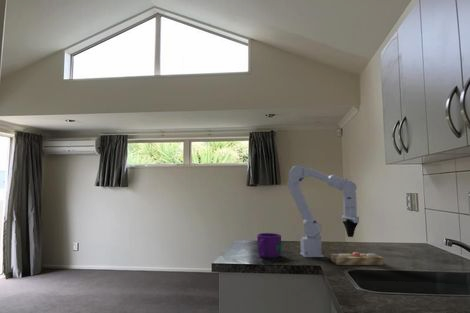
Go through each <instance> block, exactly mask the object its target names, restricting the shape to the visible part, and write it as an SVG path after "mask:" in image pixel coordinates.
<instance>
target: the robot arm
mask: <svg viewBox="0 0 470 313" xmlns="http://www.w3.org/2000/svg"><path fill="white" fill-rule="evenodd" d="M308 177H309V178H310V177H312V178H315V179H317V180H319V181H320V180H321V181H323V182H326V184H327V186H328V187H331V188H333V189H337V190H339V191H343V214H342V215H341V220H342V223H343V225H344V227H345V231H346V236H347V237H348V238H354V234H355V230H356V228H357V226H358V224H359V223H360V216H358V215H357V210H358V209H357V206H358V205H357V192H356V190H357V183H356V182H354V181H352V180H349V179H348V178H344V177H341V176H339V175H338V174H331V175H328V174H325V173H323V172H320V171H318V170H316V169H313V168H311V167H304V166H300V165H293V166H292V167H291V168H290V169H289V172H288V182H287V187H288V189H289V191H290V194H291V196H292V198H293V200H294V203H295V205H296V207H297V209H298V211H299V213H300V216H301V218H302V224H303V225H304V232H305V236H302V237H301V238H300V255H301V256H302V257H304V258H325V256H324V255H323V254H322V235H321V234H320V233H321V232H322V225H321V224H320V223H319V222H318V221H317V220H316V217H315V216H314V215H313V214H312V211H311V208H310V207H309V204H308V202H307V200H306V198H305V196H304V193H303V191H302V190H301V188H300V185H301V183H302V181H303V180H304V178H308Z"/></svg>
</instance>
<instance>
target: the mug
mask: <svg viewBox="0 0 470 313" xmlns="http://www.w3.org/2000/svg"><path fill="white" fill-rule="evenodd" d="M256 238H257V240H256V241H257V242H256V243H257V253H258V256H260V257H262V258H267V259H273V258H275V259H276V258H279V257H280V255H281V250H282V235H281V234H279V233H273V232H263V233H258V234H257V236H256Z"/></svg>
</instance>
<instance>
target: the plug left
mask: <svg viewBox="0 0 470 313" xmlns="http://www.w3.org/2000/svg"><path fill="white" fill-rule="evenodd" d="M337 254H338V256H339V257H346V254H347V253H337Z"/></svg>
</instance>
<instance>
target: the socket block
mask: <svg viewBox="0 0 470 313" xmlns="http://www.w3.org/2000/svg"><path fill="white" fill-rule="evenodd" d="M338 254H339V253H331V254H330V261H331V262H333V263H334V264H336V265H337V266H357V265H359V266H363V265H365V266H367V265H368V266H370V265H371V266H372V265H375V266H376V265H377V266H379V265H381V266H382V265H384V258H383V257H382V256H380V255H378V254H377V253H374V252H373V253H371V252H370V253H369V254H374V255H375V257H368V256H367V254H368V253H360V257H353V253H345V254H346V257H339V256H338Z"/></svg>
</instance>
